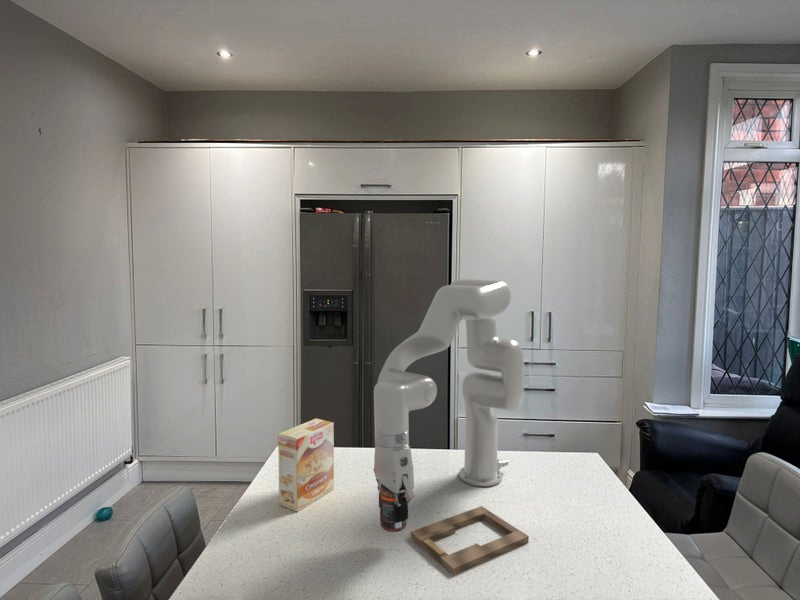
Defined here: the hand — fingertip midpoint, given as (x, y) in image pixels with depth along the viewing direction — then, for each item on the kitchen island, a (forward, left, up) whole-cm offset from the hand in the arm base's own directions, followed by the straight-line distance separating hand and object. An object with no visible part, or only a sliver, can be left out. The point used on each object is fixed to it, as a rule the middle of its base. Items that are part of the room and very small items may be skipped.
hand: (393, 512), depth 111 cm
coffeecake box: (+8, -32, -8) cm, 34 cm away
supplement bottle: (0, 0, -3) cm, 3 cm away
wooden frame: (-16, +7, -8) cm, 19 cm away
